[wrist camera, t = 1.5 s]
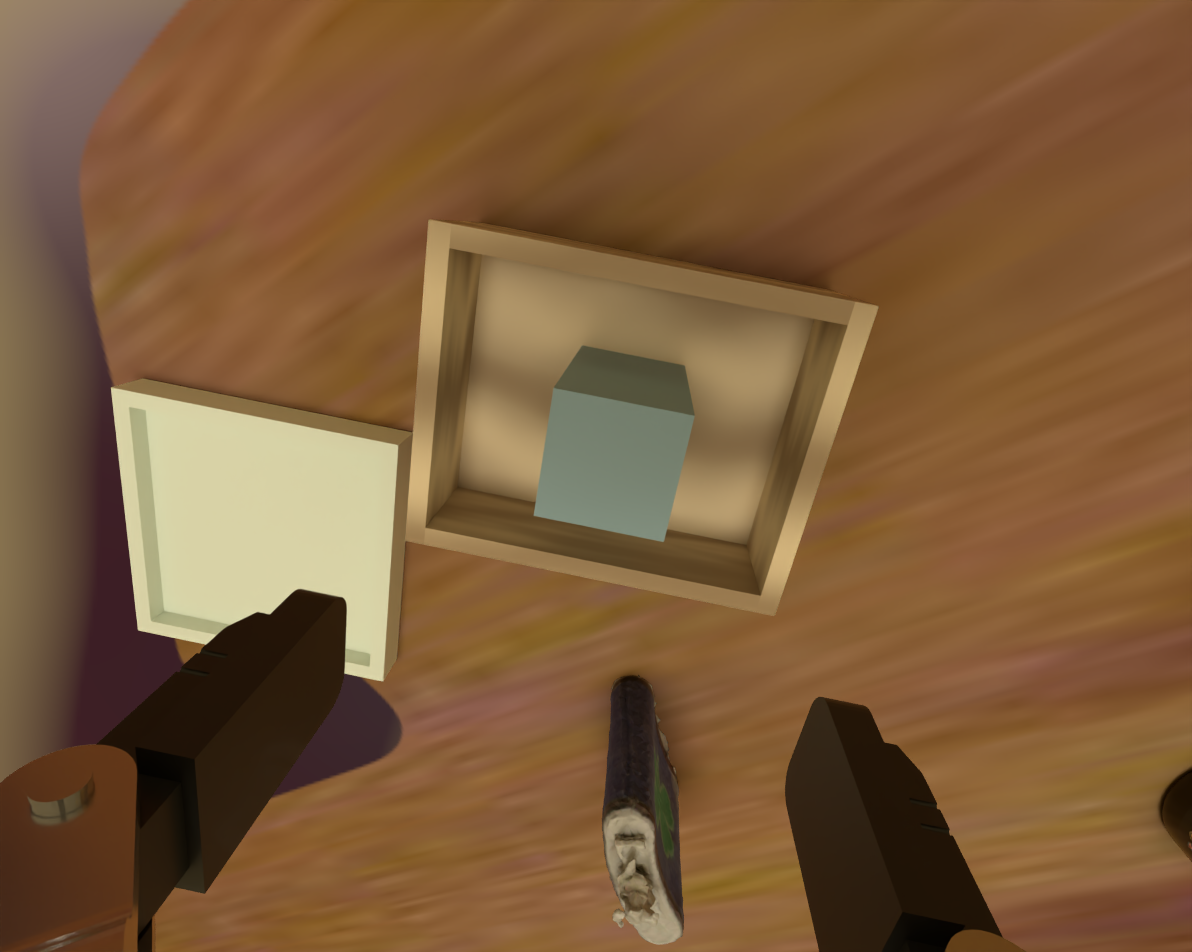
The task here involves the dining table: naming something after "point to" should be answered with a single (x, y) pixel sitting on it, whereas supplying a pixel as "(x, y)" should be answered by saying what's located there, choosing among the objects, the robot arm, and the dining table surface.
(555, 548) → the crate
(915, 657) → the dining table surface
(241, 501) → the plate
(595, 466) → the block
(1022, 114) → the dining table surface
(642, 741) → the flask
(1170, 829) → the supplement bottle
